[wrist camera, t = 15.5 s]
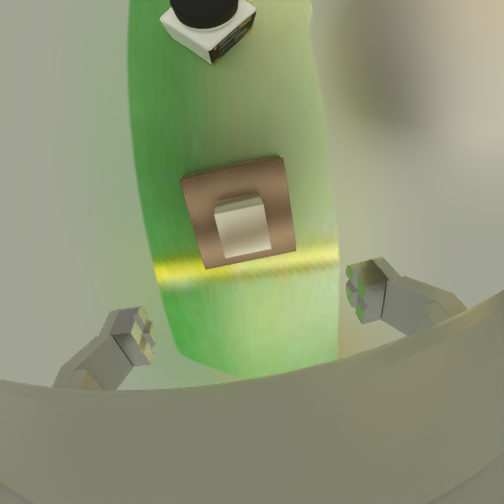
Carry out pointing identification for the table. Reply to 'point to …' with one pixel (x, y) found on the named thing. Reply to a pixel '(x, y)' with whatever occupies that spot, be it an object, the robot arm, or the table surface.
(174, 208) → the table surface
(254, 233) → the ash cube
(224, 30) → the medicine bottle
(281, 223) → the walnut base
